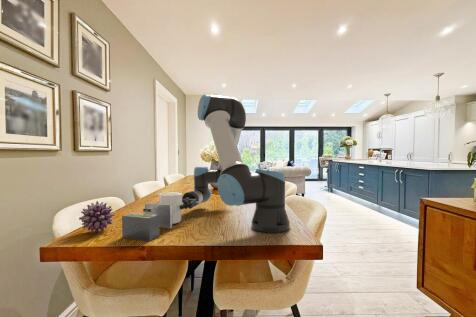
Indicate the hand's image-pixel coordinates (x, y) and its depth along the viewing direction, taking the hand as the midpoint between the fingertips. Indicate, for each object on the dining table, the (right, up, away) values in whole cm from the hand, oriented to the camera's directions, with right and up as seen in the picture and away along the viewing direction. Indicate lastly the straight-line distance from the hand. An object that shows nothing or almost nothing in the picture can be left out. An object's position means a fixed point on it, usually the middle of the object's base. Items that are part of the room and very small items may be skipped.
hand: (164, 208), depth 100 cm
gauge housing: (-5, -8, -13) cm, 16 cm away
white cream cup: (+2, -7, +4) cm, 8 cm away
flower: (-24, -8, -7) cm, 26 cm away
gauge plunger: (-2, -6, -7) cm, 9 cm away
